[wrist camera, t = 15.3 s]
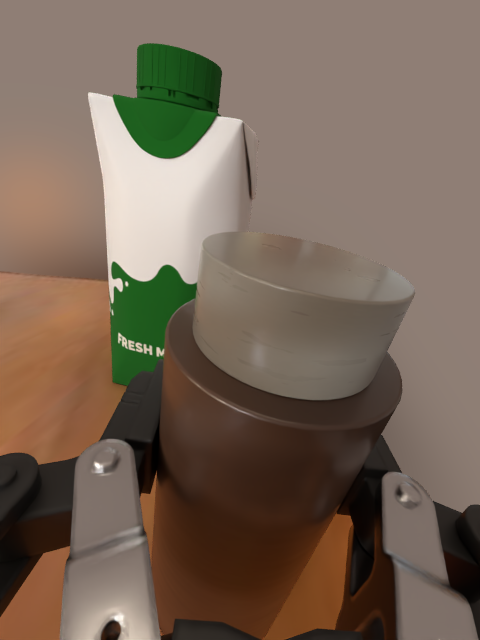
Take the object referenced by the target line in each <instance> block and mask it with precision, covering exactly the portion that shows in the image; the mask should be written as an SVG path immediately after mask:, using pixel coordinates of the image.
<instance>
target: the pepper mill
mask: <svg viewBox="0 0 480 640" xmlns="http://www.w3.org/2000/svg"><path fill="white" fill-rule="evenodd" d="M414 294H415V290H414V287H413V286H412V284H411V283H410V282H409V281H408V280H407V279H405V278H404V277H403V276H401V275H400V274H398V273H397V272H395V271H393V270H391V269H389V268H388V267H386V266H384V265H382V264H379V263H377V262H374V261H372V260H370V259H367V258H365V257H362V256H359V255H357V254H353V253H351V252H348V251H345V250H341V249H338V248H335V247H331V246H328V245H323V244H320V243H316V242H312V241H307V240H302V239H297V238H292V237H286V236H281V235H274V234H266V233H255V232H223V233H217V234H213V235H210V236H208V237H206V238H205V239H204V240H203V242H202V245H201V253H200V262H199V272H198V281H197V290H196V299H194V300H191V301H189V302H188V303H186V304H184V305H183V306H181V307H180V308H179V309H178V310H177V311H176V312H175V313H174V314H173V315H172V317H171V318H170V320H169V321H168V324H167V327H166V330H165V344H164V361H163V378H162V395H161V412H160V428H159V445H158V462H157V479H156V496H155V513H154V529H153V546H152V563H151V569H152V577H153V584H154V592H155V599H156V607H157V614H158V622H159V627H160V629H161V631H162V632H163V634H164V635H166V634H169V633H172V632H173V627H174V621H175V619H188V620H202V621H216V622H224V623H226V624H228V625H230V626H232V627H234V628H237V629H239V630H241V631H243V632H245V633H248V634H250V635H252V636H254V637H256V638H258V639H261V640H263V638H264V637H265V636H266V634H267V632H268V631H269V629H270V627H271V625H272V624H273V622H274V620H275V618H276V617H277V615H278V613H279V611H280V610H281V608H282V606H283V604H284V603H285V601H286V599H287V597H288V596H289V594H290V592H291V590H292V589H293V587H294V585H295V583H296V582H297V580H298V578H299V576H300V575H301V573H302V571H303V569H304V568H305V566H306V564H307V562H308V561H309V559H310V557H311V555H312V554H313V552H314V550H315V548H316V547H317V545H318V543H319V542H320V540H321V538H322V536H323V535H324V533H325V531H326V529H327V528H328V526H329V524H330V522H331V521H332V519H333V517H334V515H335V514H336V512H337V510H338V508H339V507H340V505H341V503H342V501H343V500H344V498H345V496H346V494H347V493H348V491H349V489H350V487H351V486H352V484H353V482H354V480H355V479H356V477H357V475H358V473H359V472H360V470H361V468H362V466H363V465H364V463H365V461H366V459H367V458H368V456H369V454H370V453H371V451H372V449H373V447H374V446H375V444H376V442H377V440H378V439H379V437H380V435H381V433H382V432H383V430H384V428H385V426H386V425H387V423H388V421H389V419H390V417H391V416H392V414H393V412H394V411H395V409H396V407H397V405H398V404H399V402H400V399H401V394H402V379H401V376H400V372H399V370H398V368H397V366H396V364H395V362H394V360H393V359H392V358H391V356H390V355H389V354H388V352H387V350H388V348H389V346H390V344H391V342H392V340H393V338H394V336H395V334H396V332H397V330H398V328H399V326H400V324H401V322H402V320H403V318H404V316H405V314H406V312H407V310H408V308H409V306H410V303H411V301H412V299H413V297H414Z"/></svg>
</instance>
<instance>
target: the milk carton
mask: <svg viewBox="0 0 480 640" xmlns="http://www.w3.org/2000/svg"><path fill="white" fill-rule="evenodd" d="M221 77H222V71H221V68H220V67H219V66H218V65H217V64H216V63H214V62H213V61H211V60H209V59H207V58H205V57H203V56H201V55H199V54H196V53H194V52H191V51H188V50H185V49H181V48H178V47H173V46H169V45H162V44H151V43H150V44H143V45H140V46H139V47H138V49H137V86H136V87H137V98H130V97H125V96H120V95H113V97H108V96H104V95H101V94H96V93H89V94H88V98H89V104H90V109H91V115H92V121H93V126H94V132H95V137H96V143H97V148H98V154H99V159H100V165H101V171H102V177H103V185H104V200H105V218H106V238H107V257H108V277H109V298H110V320H111V347H112V377H113V382H114V383H118V384H122V385H126V386H128V385H129V383H130V381H131V379H132V378H134V377H135V376H136V375H137V374H139V373H140V372H141V371H148V372H154V369H155V367H156V365H157V362H158V360H159V359H163V360H164V344H165V330H166V327H167V324H168V321H169V320H170V318H171V317H172V315H173V314H174V313H175V312H176V311H177V310H178V309H179V308H180V307H181V306H183V305H184V304H186V303H188V302H189V301H191V300H194V299H196V290H197V281H198V272H199V262H200V253H201V245H202V242H203V240H204V239H205V238H206V237H208V236H210V235H213V234H217V233H223V232H248V230H249V222H250V215H251V206H252V200H253V199H254V198H255V194H256V183H257V151H258V142H259V141H258V140H257V136H256V133H255V132H254V131H252V130H251V129H250V128H249V127H248V126H247V124H246V123H245V122H244V121H242V120H239V119H234V118H227V117H221V115H219V114H218V110H217V109H218V108H219V97H220V87H221Z"/></svg>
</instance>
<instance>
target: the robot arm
mask: <svg viewBox="0 0 480 640" xmlns="http://www.w3.org/2000/svg"><path fill="white" fill-rule="evenodd" d="M163 361H164V360H163V359H159V360H158V362H157V365H156V367H155V369H154V372H148V371H141V372H140V373H139V374H137V375H136V376H135V377H134V378H132V379H131V381H130V383H129V385H128V387H127V389H126V392H125V393H124V395H123V396H122V398H121V402H119V404H118V406H117V408H116V410H115V412H114V414H113V416H112V418H111V419H110V421H109V423H108V425H107V427H106V429H105V431H104V433H103V435H102V437H101V438H100V440H99V441H98V442H96V443H94V444H93V445H91V446H89V447H88V448H87V449H86V450H85V451H83V453H82V454H81V455H80V456H78V457H75V458H72V459H69V460H64V461H58V462H53V463H47V464H41V465H38V463H37V461H36V460H35V458H34V457H32V456H31V455H28V454H25V453H10V454H6V455H2V456H0V617H1V615H2V614H3V612H4V611H5V609H6V608H7V606H8V605H9V603H10V602H11V600H12V599H13V597H14V596H15V594H16V593H17V591H18V590H19V589H20V587H21V586H22V584H23V583H24V581H25V580H26V578H27V577H28V575H29V574H30V572H31V571H32V569H33V568H34V566H35V565H36V563H37V562H38V560H39V559H40V557H41V556H42V555H43V553H46V552H49V551H53V550H57V549H60V548H64V547H68V546H70V554H69V558H68V559H67V561H66V566H65V573H64V585H63V599H62V613H61V628H60V640H261V639H258V638H256V637H254V636H252V635H250V634H248V633H245V632H243V631H241V630H239V629H237V628H234V627H232V626H230V625H228V624H226V623H224V622H216V621H202V620H188V619H175V621H174V627H173V632H172V633H169V634H166V635H163V636H160V629H159V622H158V614H157V607H156V599H155V592H154V584H153V577H152V569H151V562H150V554H149V547H148V541H147V535H146V532H145V531H144V526H143V519H142V512H141V504H140V496H141V493H147V494H150V492H151V489H152V485H153V482H154V478H155V475H156V471H157V462H158V445H159V428H160V412H161V395H162V378H163ZM337 514H341V515H350V516H351V519H352V522H353V525H352V526H351V528H350V530H349V537H348V549H347V561H346V573H345V585H344V596H343V603H342V607H341V610H340V613H339V616H338V619H337V623H336V627H335V630H328V629H315V630H312V631H309V632H306V633H303V634H300V635H297V636H294V637H292V638H289V639H286V640H480V505H470V506H469V507H468V508H467V509H466V510H465V511H464V512H463V513H461V512H458V511H456V510H453V509H451V508H449V507H446V506H444V505H441V504H439V503H437V502H434V501H432V499H431V498H430V495H429V494H428V493H427V491H426V490H425V489H424V488H423V487H422V486H421V485H420V484H419V483H418V482H417V481H415V480H414V479H412V478H411V477H409V476H407V475H405V474H403V473H402V472H401V470H400V468H399V466H398V464H397V462H396V460H395V458H394V457H393V455H392V453H391V451H390V450H389V447H388V445H387V444H386V442H385V440H384V438H383V436H382V435H380V437H379V439H378V440H377V442H376V444H375V446H374V447H373V449H372V451H371V453H370V454H369V456H368V458H367V459H366V461H365V463H364V465H363V466H362V468H361V470H360V472H359V473H358V475H357V477H356V479H355V480H354V482H353V484H352V486H351V487H350V489H349V491H348V493H347V494H346V496H345V498H344V500H343V501H342V503H341V505H340V507H339V508H338V510H337Z"/></svg>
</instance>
